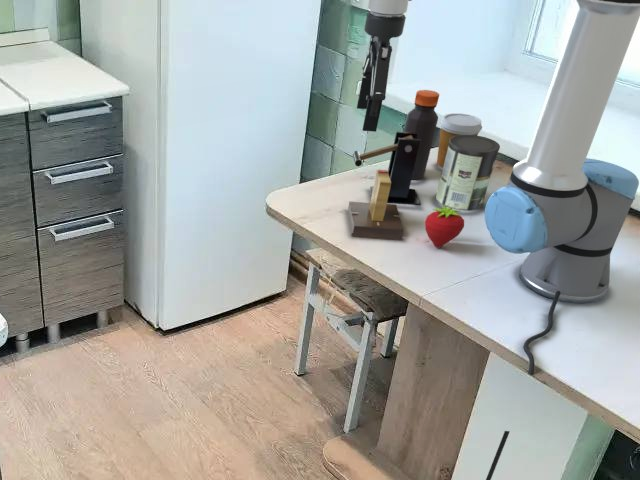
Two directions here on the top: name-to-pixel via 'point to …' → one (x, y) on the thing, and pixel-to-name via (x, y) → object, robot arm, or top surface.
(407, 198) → the bracket
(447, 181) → the coffee can
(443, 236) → the strawberry
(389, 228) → the plate
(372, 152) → the door handle
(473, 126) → the disposable coffee cup
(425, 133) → the bottle
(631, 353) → the top surface
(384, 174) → the thumb turn
